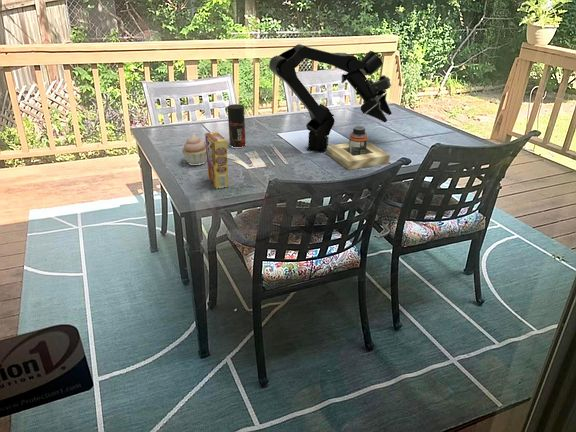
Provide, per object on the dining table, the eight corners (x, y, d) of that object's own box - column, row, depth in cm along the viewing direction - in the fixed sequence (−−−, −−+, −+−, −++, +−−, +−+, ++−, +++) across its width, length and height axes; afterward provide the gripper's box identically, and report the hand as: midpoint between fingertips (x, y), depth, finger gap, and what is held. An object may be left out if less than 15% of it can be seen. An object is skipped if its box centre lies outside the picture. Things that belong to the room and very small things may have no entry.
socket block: (348, 170, 155) (348, 161, 154) (326, 153, 168) (327, 145, 167) (388, 163, 161) (389, 155, 159) (365, 147, 174) (365, 140, 172)
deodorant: (238, 141, 179) (236, 103, 171) (248, 145, 175) (247, 106, 168) (226, 145, 175) (224, 106, 168) (236, 149, 171) (234, 109, 164)
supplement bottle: (354, 153, 168) (356, 123, 163) (368, 157, 165) (371, 127, 160) (345, 158, 164) (347, 127, 159) (359, 162, 161) (362, 131, 155)
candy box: (230, 187, 143) (227, 139, 136) (216, 189, 142) (213, 142, 134) (220, 176, 150) (217, 131, 143) (207, 178, 149) (203, 133, 141)
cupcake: (207, 156, 166) (205, 129, 161) (212, 165, 158) (210, 137, 153) (181, 159, 163) (178, 131, 158) (184, 169, 155) (181, 140, 150)
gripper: (373, 74, 154) (402, 110, 156) (383, 64, 169) (410, 97, 171) (348, 96, 160) (376, 130, 162) (360, 84, 175) (386, 116, 177)
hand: (388, 117), depth 168 cm, fingers open, 9 cm apart
